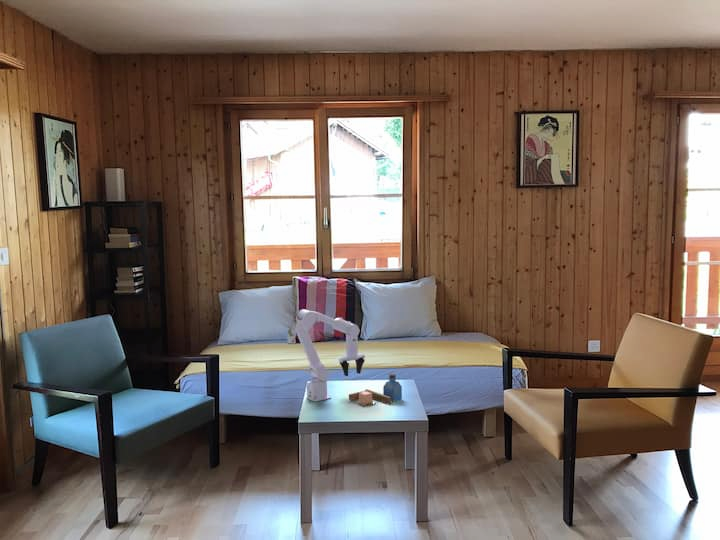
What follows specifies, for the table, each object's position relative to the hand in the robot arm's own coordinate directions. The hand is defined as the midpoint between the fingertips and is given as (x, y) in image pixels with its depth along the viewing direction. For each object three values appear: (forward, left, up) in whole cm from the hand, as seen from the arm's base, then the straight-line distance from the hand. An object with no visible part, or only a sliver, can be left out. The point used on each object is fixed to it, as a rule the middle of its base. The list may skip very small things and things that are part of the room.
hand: (352, 374), depth 309 cm
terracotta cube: (-6, -18, -9) cm, 21 cm away
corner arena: (-3, -17, -9) cm, 20 cm away
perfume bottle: (+8, -21, -10) cm, 25 cm away
